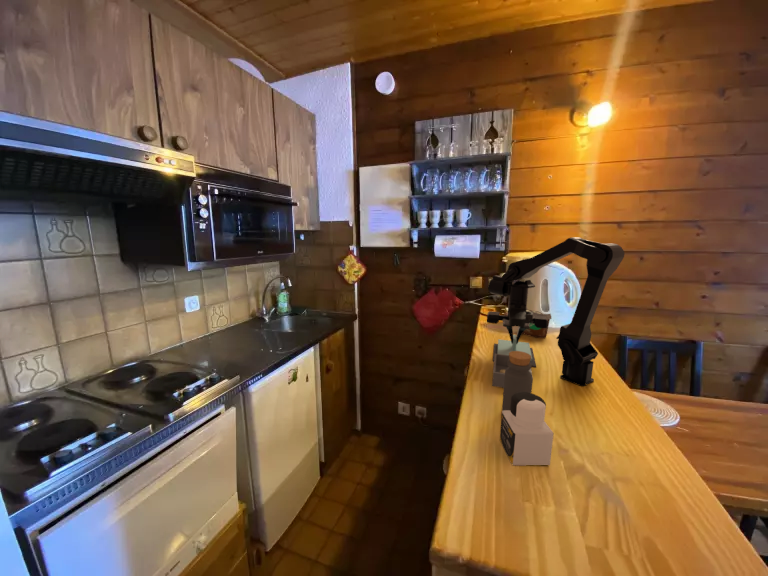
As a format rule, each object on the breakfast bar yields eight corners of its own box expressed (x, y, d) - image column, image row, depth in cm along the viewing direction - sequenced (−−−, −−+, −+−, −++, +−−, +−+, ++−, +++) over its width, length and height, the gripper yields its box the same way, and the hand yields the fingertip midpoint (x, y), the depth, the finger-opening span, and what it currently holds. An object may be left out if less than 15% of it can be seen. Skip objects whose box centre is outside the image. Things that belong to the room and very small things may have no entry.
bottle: (501, 418, 73) (506, 358, 70) (501, 405, 78) (506, 348, 75) (529, 423, 71) (535, 361, 68) (527, 409, 76) (532, 351, 73)
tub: (493, 365, 100) (494, 353, 100) (528, 370, 97) (529, 358, 96) (492, 385, 88) (493, 372, 87) (531, 392, 84) (532, 378, 83)
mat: (494, 344, 118) (494, 343, 118) (532, 349, 113) (532, 347, 113) (492, 361, 103) (492, 360, 103) (536, 367, 99) (536, 366, 99)
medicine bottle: (499, 440, 65) (503, 387, 63) (533, 441, 65) (539, 388, 63) (511, 466, 58) (516, 407, 56) (550, 466, 58) (557, 408, 56)
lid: (498, 343, 116) (499, 329, 115) (528, 347, 113) (530, 332, 112) (497, 358, 103) (498, 342, 102) (531, 363, 100) (533, 346, 99)
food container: (513, 331, 133) (515, 308, 131) (524, 329, 135) (526, 306, 133) (538, 340, 122) (541, 315, 120) (549, 338, 124) (552, 314, 122)
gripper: (487, 302, 100) (484, 348, 103) (552, 307, 94) (547, 356, 97) (488, 295, 111) (486, 337, 114) (547, 299, 104) (543, 343, 107)
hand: (514, 343), depth 108 cm, fingers closed on lid
